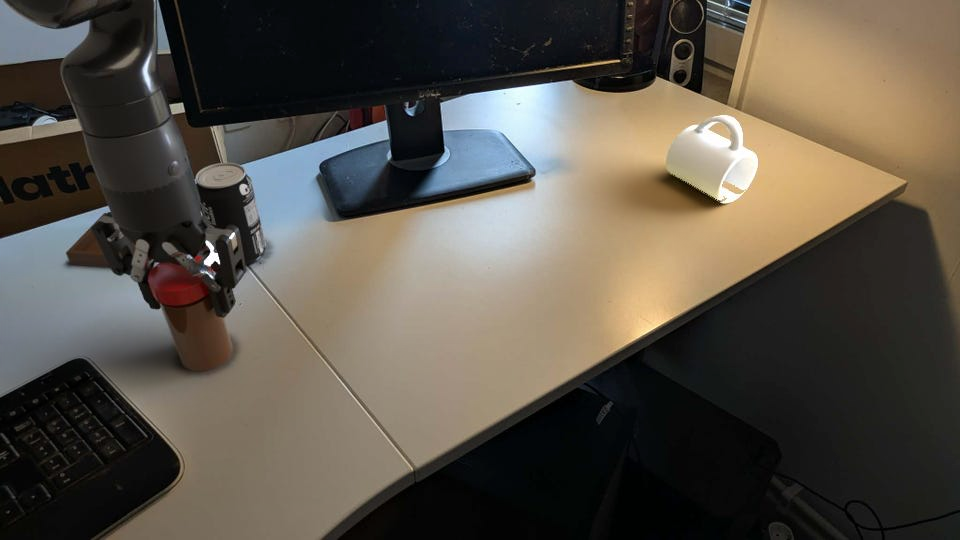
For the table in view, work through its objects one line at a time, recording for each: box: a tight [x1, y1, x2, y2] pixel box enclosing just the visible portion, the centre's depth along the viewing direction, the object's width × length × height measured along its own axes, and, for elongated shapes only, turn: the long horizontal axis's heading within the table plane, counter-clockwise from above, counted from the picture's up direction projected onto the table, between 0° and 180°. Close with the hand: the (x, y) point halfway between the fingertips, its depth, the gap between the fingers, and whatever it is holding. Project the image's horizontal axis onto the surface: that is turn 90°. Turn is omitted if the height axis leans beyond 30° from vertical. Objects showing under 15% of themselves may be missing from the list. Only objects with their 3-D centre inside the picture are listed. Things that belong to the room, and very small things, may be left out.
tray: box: [65, 212, 136, 269], centre depth 87 cm, size 9×9×2 cm
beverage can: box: [194, 162, 267, 266], centre depth 83 cm, size 7×7×12 cm
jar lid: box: [148, 254, 215, 305], centre depth 66 cm, size 6×6×2 cm
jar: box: [159, 293, 234, 372], centre depth 69 cm, size 5×5×11 cm
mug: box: [665, 114, 758, 204], centre depth 98 cm, size 8×10×12 cm
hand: (192, 307), depth 69 cm, fingers open, 6 cm apart
